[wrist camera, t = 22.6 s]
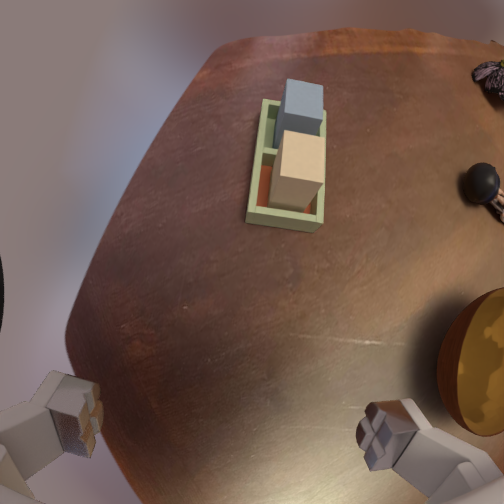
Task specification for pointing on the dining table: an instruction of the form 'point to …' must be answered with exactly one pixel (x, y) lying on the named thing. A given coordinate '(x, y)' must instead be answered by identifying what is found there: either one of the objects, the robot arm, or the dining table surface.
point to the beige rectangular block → (296, 171)
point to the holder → (261, 180)
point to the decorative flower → (491, 76)
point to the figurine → (484, 187)
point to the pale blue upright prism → (299, 110)
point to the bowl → (475, 366)
